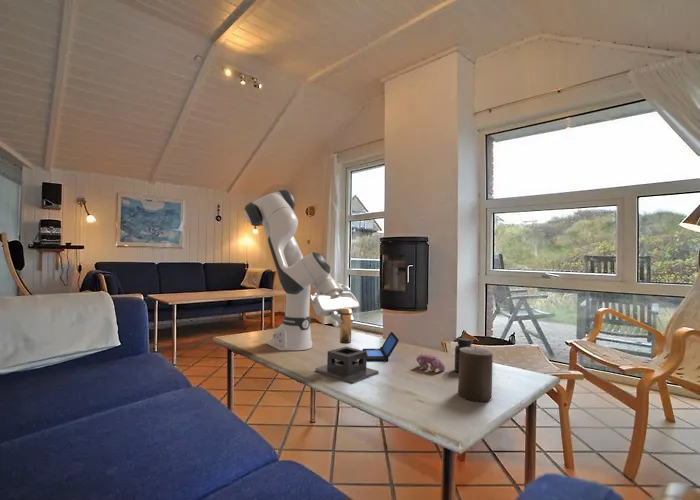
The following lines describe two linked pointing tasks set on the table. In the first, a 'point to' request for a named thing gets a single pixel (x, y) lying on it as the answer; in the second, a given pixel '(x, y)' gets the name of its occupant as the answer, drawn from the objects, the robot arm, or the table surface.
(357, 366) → the collar stand
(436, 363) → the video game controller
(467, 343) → the supplement bottle
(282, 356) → the table surface
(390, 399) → the table surface
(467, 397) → the pillar candle
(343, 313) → the gold cylindrical bottle
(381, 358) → the handheld game console
